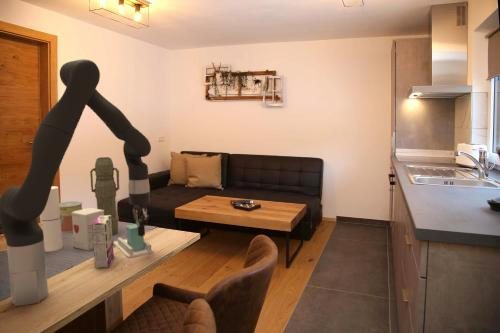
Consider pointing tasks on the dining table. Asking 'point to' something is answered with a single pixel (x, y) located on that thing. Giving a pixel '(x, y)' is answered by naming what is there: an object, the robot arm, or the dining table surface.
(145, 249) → the chute
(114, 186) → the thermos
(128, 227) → the block
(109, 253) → the candy bar box
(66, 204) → the canned food
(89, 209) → the supplement box
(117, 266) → the dining table surface
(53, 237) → the cylindrical container
